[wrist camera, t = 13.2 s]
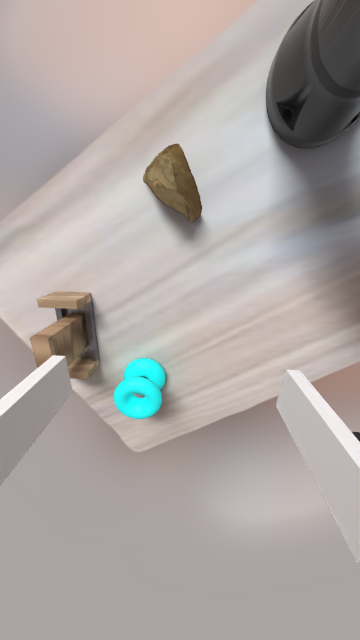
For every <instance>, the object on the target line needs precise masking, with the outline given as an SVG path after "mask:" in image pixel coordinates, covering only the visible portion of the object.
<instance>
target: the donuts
mask: <svg viewBox="0 0 360 640" xmlns="http://www.w3.org/2000/svg"><path fill="white" fill-rule="evenodd" d="M141 376H145V377H147V378H148V379H147V378H143V377H141ZM165 380H166V375H165V371H164V369H163V368H162V366H161V365H160V364H159V363H157V362H156V361H154V360H152V359H147V358H141V359H136V360H134V361H132V362H131V363H130V364H129V365H128V366H127V367H126V369H125V372H124V381H122V382H121V383H120V384H119V385H118V386H117V388H116V390H115V393H114V402H115V405H116V407H117V408H118V409H119V411H120V412H121V413H123V414H124V415H126V416H128V417H131V418H135V419H144V418H148V417H151V416H152V415H154V414H155V413H156V412H157V411H158V410H159V409H160V407H161V404H162V394H161V391H160V390H161V389H162V387H163V386H164V384H165ZM133 393H136V394H139V395H144V396H145V397H144V398H138V397H136V396H135V395H134V394H133Z"/></svg>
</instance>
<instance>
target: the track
mask: <svg viewBox="0 0 360 640" xmlns="http://www.w3.org/2000/svg"><path fill="white" fill-rule="evenodd" d="M55 310H56V315H57V320H60V319H62V318H63V317H65V316H67V315H68V314H83V316H84V323H85V330H86V336H87V343H88V347H87V348H86V349H85V350H84V351H83V352H82V353H81V354H80V355H79V356H78V357H77V358H91V361H97V360H98V359H99V353H98V345H97V337H96V329H95V322H94V314H93V306H92V300H91V301H90V302H88V303H87V304H85V305H83V306H82V307H80V308H78V309H67V308H55Z"/></svg>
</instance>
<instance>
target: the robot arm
mask: <svg viewBox="0 0 360 640" xmlns="http://www.w3.org/2000/svg"><path fill="white" fill-rule="evenodd" d="M266 103H267V110H268V115H269V118H270V121H271V124H272V126H273V128H274V129H275V131H276V132H277V134H278V135H279V136H280V137H281V138H282V139H283V140H284V141H285V142H287V143H289V144H291V145H293V146H295V147H300V148H313V147H318V146H321V145H324V144H326V143H328V142H330V141H331V140H333V139H335V138H336V137H337V136H339V135H340V134H342V133H343V132H344V131H346V130H347V129H348V128H350V127H351V126H352V125H353V124H354V123H355V122H356V121H357V120H358V119H359V118H360V0H315V1H313V2H312V3H311V4H310V5H309V6H308V7H307V8H306V9H305V10H304V11H303V12H302V13H301V14H300V15H299V16H298V17H297V19H296V20H295V21H294V22H293V24H292V25H291V27H290V28H289V30H288V32H287V33H286V35H285V37H284V39H283V40H282V43H281V45H280V47H279V49H278V51H277V53H276V55H275V58H274V60H273V63H272V65H271V69H270V72H269V76H268V81H267V90H266ZM72 392H73V391H72V386H71V381H70V376H69V371H68V366H67V362H66V357H65V356H56V355H53V356H52V357H50V358H49V359H48V360H47V361H46V362H44V363H43V364H42V365H41V366H40V367H38V368H37V369H36V370H35V371H34V372H32V373H31V374H30V375H29V376H28V377H27V378H25V379H24V380H23V381H22V382H21V383H20V384H18V385H17V386H16V387H15V388H13V389H12V390H11V391H10V392H9V393H8V394H6V395H5V396H4V397H3V398H2V399H0V486H1V484H2V483H3V482H4V481H5V479H6V478H7V477H8V475H9V474H10V473H11V471H12V470H13V469H14V468H15V466H16V465H17V464H18V462H19V461H20V460H21V458H22V457H23V456H24V455H25V453H26V452H27V451H28V450H29V448H30V447H31V446H32V444H33V443H34V442H35V440H36V439H37V438H38V436H39V435H40V434H41V433H42V431H43V430H44V429H45V428H46V426H47V425H48V423H49V422H50V421H51V420H52V419H53V417H54V416H55V415H56V413H57V412H58V411H59V409H60V408H61V407H62V406H63V404H64V403H65V402H66V400H67V399H68V398H69V396H70V395H71V394H72ZM276 407H277V409H278V411H279V413H280V415H281V416H282V418H283V421H284V422H285V424H286V426H287V428H288V430H289V432H290V434H291V436H292V438H293V440H294V442H295V444H296V446H297V448H298V450H299V451H300V453H301V455H302V457H303V459H304V461H305V463H306V465H307V467H308V469H309V471H310V473H311V474H312V476H313V479H314V480H315V482H316V484H317V486H318V488H319V490H320V492H321V494H322V496H323V498H324V500H325V502H326V504H327V506H328V508H329V509H330V511H331V513H332V515H333V517H334V519H335V521H336V522H337V525H338V527H339V528H340V531H341V533H342V534H343V537H344V538H345V540H346V542H347V544H348V546H349V548H350V550H351V552H352V554H353V556H354V558H355V560H356V562H360V433H359V432H351V431H350V430H349V429H348V427H347V426H346V425H345V424H344V423H343V422H342V420H341V419H340V418H339V417H338V416H337V414H336V413H335V412H334V411H333V410H332V409H331V407H330V406H329V405H328V404H327V402H326V401H325V400H324V399H323V398H322V397H321V395H320V394H319V393H318V392H317V391H316V389H315V388H314V387H313V386H312V385H311V383H310V382H309V381H308V380H307V379H306V377H305V376H304V375H303V374H302V373H301V372H300V370H286V372H285V376H284V379H283V383H282V386H281V390H280V393H279V397H278V400H277V404H276Z"/></svg>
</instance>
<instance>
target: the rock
mask: <svg viewBox="0 0 360 640" xmlns="http://www.w3.org/2000/svg"><path fill="white" fill-rule="evenodd" d="M143 181H144V182H146V183H147V184H148V186H149V187H150V188H151V189H152V191H153V193H154V194H155V195H156V197H157V198H158V199H159V200H161V201H162V202H163V203H164V204H166V205H168V206H169V207H172V208H174V209H175V210H176V211H178V212H180V213H182V214H184V215H185V217H186V218H187V220H188V221H190V222H191V223H192V222H194V221H195V220H196V219H197V218H198V217H199V215H200V214H201V212H202V211H201V210H202V205H201V201H200V195H199V192H198V190H197V186H196V182H195V179H194V177H193V175H192V173H191V170H190V168H189V165H188V162H187V160H186V157H185V155H184V152H183V150H182V148H181V147H180V145H179V144H173V145H170V146H168V147H167V148H165V149H164V150H163V151H162V152H161V153H159V154H158V156H156V157H155V158H154V160H153V161H152V162H151V164H150V165H149V166H148V167H147V168H146V171H145V174H144V176H143Z"/></svg>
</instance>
